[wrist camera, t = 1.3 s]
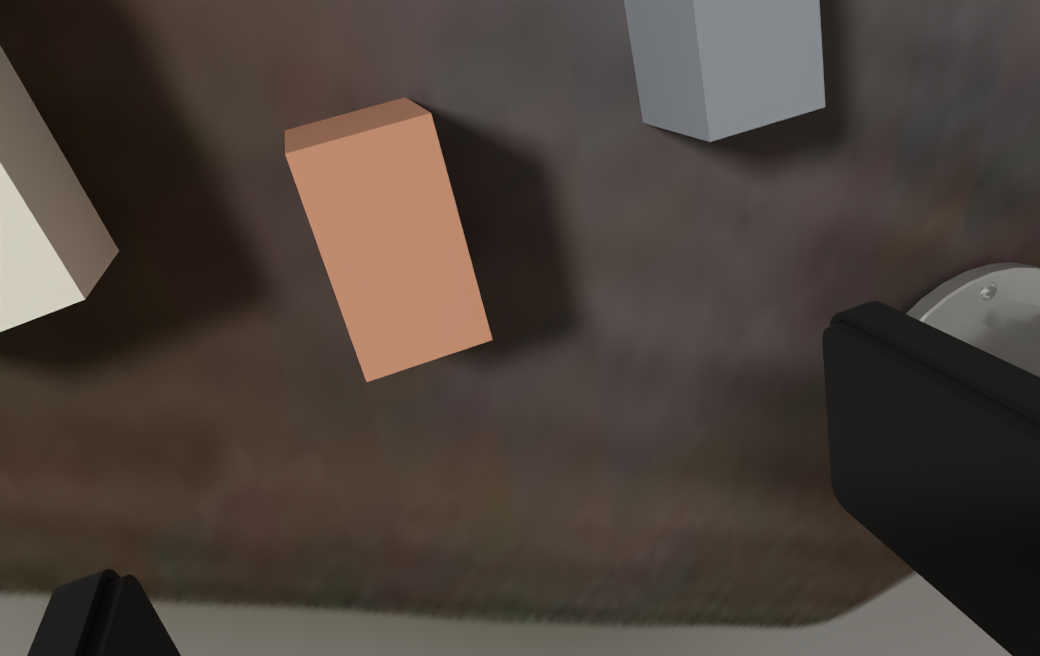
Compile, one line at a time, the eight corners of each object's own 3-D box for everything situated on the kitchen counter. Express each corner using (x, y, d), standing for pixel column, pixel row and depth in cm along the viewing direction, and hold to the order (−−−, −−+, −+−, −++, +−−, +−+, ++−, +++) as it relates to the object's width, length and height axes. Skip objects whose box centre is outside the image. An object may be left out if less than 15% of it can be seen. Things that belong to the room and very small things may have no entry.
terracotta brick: (459, 289, 28) (492, 340, 24) (353, 324, 28) (366, 382, 23) (405, 96, 25) (431, 113, 21) (284, 130, 25) (284, 154, 20)
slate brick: (740, 93, 29) (825, 106, 24) (642, 122, 28) (710, 142, 23) (719, -120, 26) (811, -150, 21) (608, -93, 25) (678, -118, 21)
